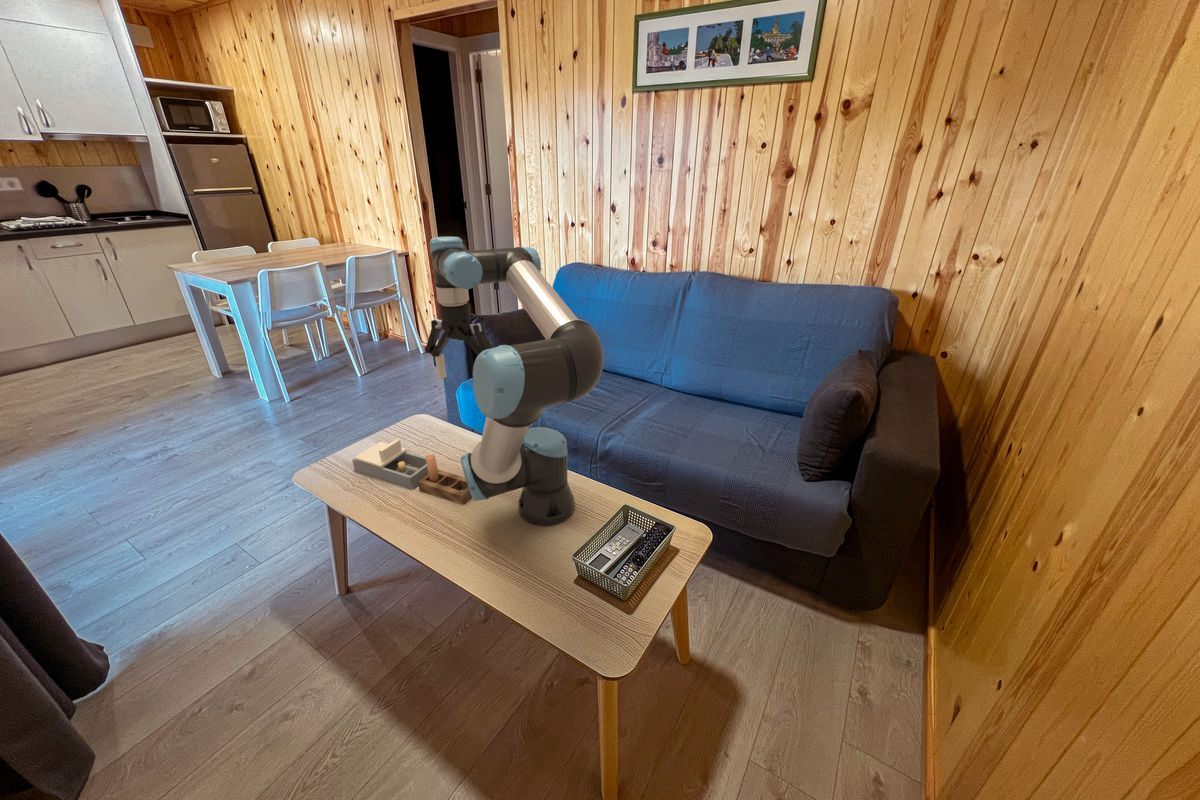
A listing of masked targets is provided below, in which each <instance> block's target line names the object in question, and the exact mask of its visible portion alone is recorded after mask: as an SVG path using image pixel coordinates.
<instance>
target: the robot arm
mask: <svg viewBox="0 0 1200 800" xmlns="http://www.w3.org/2000/svg"><path fill="white" fill-rule="evenodd" d="M429 246H430V248H429V249H430V252H429V253H430V257H431V263H432V269H433V270H432V271H433V274H434V275H433V276H434V282H435V291H436V299H437V302H438V303H439V304H438V312H439V318H435V319H433V320H431V321H430V325H431V330H430V332H429V335H428V339H427V343H426V347H425V349H424V351H425V353H426V354H430V355H431V356H432V358H433V365H434V367H436V371H437V378H438V379H437V380H439V381H441V380H444V379H445V378H447V377H448V375H447V368H446V361H445V354H444V353H442V352H443V350H444V348H445V347H446V345H447V344H448V343H449V341H450V340H458V341H463V342H464V343H465V344H468V347H469V348H470V349H471V350H472V351H473V353H475V355H476V358H475V361H474V363H473V367H472V368H473V369H472V378H473V382H472V388H473V394H474V398H475V401H476V404H477V407H478V409H479V411H480V412H481V414H483V416H485V422H484V426H483V432H482V435H481V441H480V442H478V443H477V444H476V445H475V446H474V448H473V449H472V451H471V452H467V453H465V454H463V455H462V456H460V463H461V467H462V471H463V474H464V477H465V478H466V481H467V484H468V488H469V491H470V494H471V496H472V497H471V499H473V500H474V501H477V502H478V501H479V502H480V501H483V500H488V499H490V498H493V497H495V496H499V495H503V494H505V493H506V494H507V493H509V492H513V491H515V490H518V489H522V490H521V493H520V496H519V498H518V512H519V515H520V517H521V519H523V520H524V521H526V522H528V523H529V524H531V525H534V526H541V527H542V526H544V527H545V526H547V527H548V526H549V527H550V526H554V525H557V524H560V523H562V522H565V521H566V520H568V519H569V518H570V517H571V516H572V514H573V513H574V510H575V497H574V495H573V493H572V490H571V487H570V486H569V483H568V454H569V451H568V443H567V439H566V437H565V436H564V434H563V433H561V432H560V431H558V430H556V429H552V428H549V427H543V426H542V427H541V426H538V427H537V426H536V427H530V426H532V425H533V424H535V423H536V422H538V421H539V420H540V418H541V417H542V416H543V414H544V412H545V409H546V408H548V407H553V406H557V405H561V404H564V403H570V402H574V401H578V400H580V399H582V398H583V397H585V396H586V395H588V394H589V393H590V392H592V390H593V389H594V388H595V387H596V386H597V384H598V382H599V380H600V379H601V376H602V373H603V370H604V360H605V357H604V356H605V354H604V349H603V344H602V343H601V342H602V341H601V340H600V338H599V336H598V335H599V334H597V332H596V331H595V330H594V328H593V327H592V326H591V325H590V324H589V322H587V321H586V320H583V319H580V318H578V317H577V316H576V315H575V314H574V313H573V311H572V310H571V309H570V307H569V306H568V305H567V304H566V302H565V301H564V300H563V299H562V298H561V296H560V295H559V294H558V292H557V291H556V290H555V289H554V288H553V286H552V285H551V284H550V282H548V280H547V279H546V278H545V276H544V275H543V274H542V272H541V271H542V263H541V257H540V256H539V253H538V251H537V250H536V248H534V247H529V246H527V247H526V246H524V247H523V246H516V247H505V248H488V249H486V248H485V249H469V250H465V248H464V244H463V240H462V239H461V237H459V236H437V237H433V238H431V239H430V241H429ZM497 283H498V284H500V283H507V286H509V288H510V289H511V290H512V292H513V294H514V296H515V297H517V299H518V301H519V303H520V304H521V305H522V307H523V308H524V309H525V311H526V312H527V314H528V316H530V317H529V318H531V320H532V322H533V323H534V324H535V325H536V327H537V328H538V329H539V331H540V332H541V335H542V336H543V337H544V339H542V340H536V341H529V342H523V343H516V344H511V345H510V344H509V345H507V344H501V345H498V346H495V347H493V346H492V344H491V342H490V340H489V338H488V336H487V335H486V332H485V330H484V326H483V323H482V322H479V323H472V321H471V318H472V312H471V303H470V302H469V301H470V295H469V290H470V289H473V288H474V287H476V286H477V285H478V286H479V285H487V284H497ZM442 329H443V330H444V331H443V333H442V335H441V337H440V334H441V333H440V332H441V331H442ZM439 337H440V338H439ZM438 340H439V341H438Z"/></svg>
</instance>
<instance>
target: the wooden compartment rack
mask: <svg viewBox="0 0 1200 800" xmlns="http://www.w3.org/2000/svg"><path fill="white" fill-rule="evenodd" d="M438 474H439V481H438V482H437V483H433V482H430V479H429V474H427V475H426V476H425V477H423V478H422V479H421V480H419V481H418V486H417V487H418V490H419V491H420V492H423V493H426V494H429V495H432V496H435V497H437V498H441V499H444V500H448V501H450V502H453V503H457V504H460V505H465V504H466V503H467V502H468V501H469V500H470V499H472V496H471V494H470V491H469V488H468V484H467V481H466V478H465V476H462V475H458V474H454V473H450V472H448V471H444V470H441V469H438Z"/></svg>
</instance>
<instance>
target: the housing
mask: <svg viewBox="0 0 1200 800" xmlns="http://www.w3.org/2000/svg"><path fill="white" fill-rule="evenodd" d="M351 460H352V461H351V462H352V465H353V469H354V471H355V472H358V473H361V474H364V475H367V476H370V477H374V478H377V479H379V480H383V481H385V482H388V483H392V484H396V485H398V486H401V487H404V488H406V489H407V488H408V489H410V490H414V489H415V488H417V487H419V486H418V481H419V480H421V479H422V478H423V477H425V476H426V475H427V474H428V468H427V463H426V456H422V455H419V454H416V453H411V452H409V451H406V452H405V453H403V454H402V455H400V456H399V457H397V458H396V459H394V460H393V461H396V462H398V463H397V468H398V469H397V470H393V469H390V468H386V467H385V466H384V467H382V468H380V467H376V466H373V465H370V464H367V463H364V462H360V461H357V460H355V458H354V457H353V458H352V459H351ZM406 465H409V466H413V467H415V468H418V469H413V468H410V467H407V466H406Z"/></svg>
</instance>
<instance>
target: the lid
mask: <svg viewBox="0 0 1200 800" xmlns="http://www.w3.org/2000/svg"><path fill="white" fill-rule="evenodd" d="M405 452H408V451H407V448H405V447H402V445H401V439H398V438H396V439H394V440H393V441H391V442H390V443H387V442H384V441H379V442H378V443H376V444H374V445H373V446H372V445H371V447H369V448H367V449H366V450H364V451H363V452H361V453H359V454H358V455H356V456H355V457H353V459H354V458H355V460H357V461H360V462H364V463H367V464H370V465H373V466H376V467H380V468H382V467H384V468H385V466H386V465H388V464H389V463H391V462H393V461H395V460H394V459H396V458H397V457H399V456H400V455H402V454H403V453H405Z"/></svg>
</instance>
